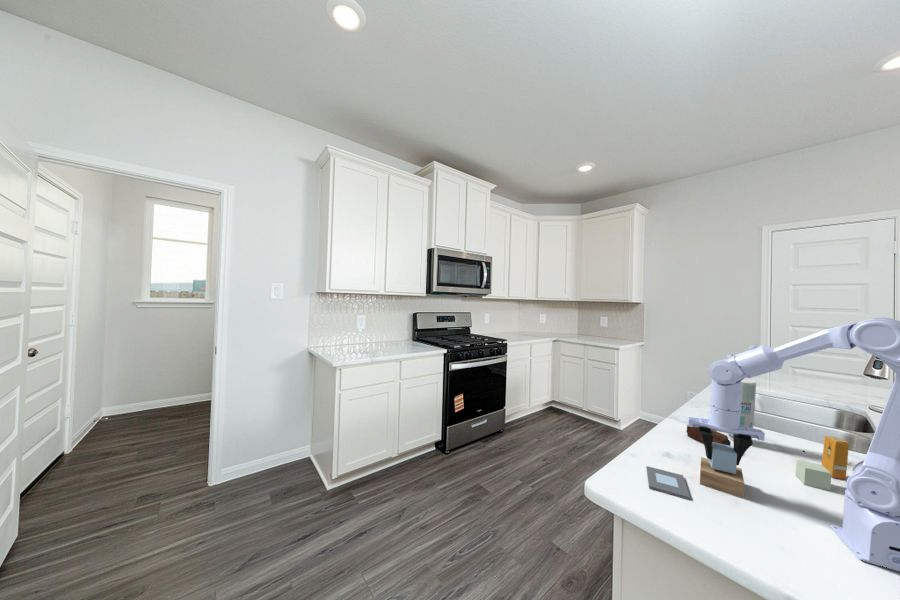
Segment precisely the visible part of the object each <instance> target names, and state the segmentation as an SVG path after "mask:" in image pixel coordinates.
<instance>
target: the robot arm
mask: <svg viewBox="0 0 900 600" xmlns="http://www.w3.org/2000/svg"><path fill="white" fill-rule="evenodd" d="M856 347H857V348H859V349H861V350H863V351H865V352H866V353H867V354H869V355H873V356H874V357H876V358H878V359H879V360H880V361H881V362H883V363H884V365H886V366H887V367H888V368H890V369H891V370H892V371H893V372H894V373H895V374H896V375H895V378H894V381H893V383H892V386H891V388H890V391H889V394H888V396H887V400H886V403H885V405H884V407H883V410H882V413H881V415H880V419H879V420H878V424H877V426H876V429H875V431H874V434H873V437H872V439H871V442H870V445H869V447H868V450H867V452H866V455H865V457H864V459H863V460H861V461H859V462H856V464H855V465H853V469H852V474H851V475H849V476H848V478H846V479H847V480H846V483H845V484H846V485H845V486H846V489H845V490H844V501H843V503H844V504H843V514H842V525H841V526H840V525H839V526H838V525H835V524H830V528H831V529H832V531H834V533H835V534H837V536H838V537H839V538H840V539H841V540H842V541H843V543H844V544H845V545H846V546H847V547H848V548H849V549H850V551H851V552H852V553H853V554H854V555H855V556H856V557H857V559H859V560H860V561H862V560H863V562H865V561H866V563H869V564H873V565H876V566H879V567H882V566H883V567H882V568H886V567H887V568H886V569H890V570H893V571H897V572H900V320H897V319H894V318H889V317H874V318H870V319H866V320H865V319H864V320H863V321H860V322H852V323H850V324H849V323H848V324H843V325H839V326H835V327H831V328H826V329H823V330H819V331H818V332H815V333H811V334H810V335H806V336H803V337H802V338H799V339H796V340H794V341H791V342H787V343H785V344H782V345H779V346H777V347H770V346H766V345H760V346H758V345H755V344H754V345H752V346H749V347H748V350H745V351H743V352H740V353H737V354H732V353H731V354H728V355H727V356H726V358H724V359H718V360H716V361H714V362H712V363H711V364H710V365H709V366H708V370H707V371H708V372H707V373H708V375H709V377H710V378H711V385H710V386H711V387H710V399H709V400H710V401H709V416H708V417H709V418H704V417H703V418H702V417H701V418H700V417H693V416H692V417H691V416H687V419H686V426H687V425H688V426H689V427H697V428H698V430H699V432H700V434H701V437H702V440H703V443H704V444H703V446H704V450H705V456H706V459H711V457H712V450H711V448H712V440H713V435H712V432H711V430H714V431H717V432H719V433H724V434H725V433H730V434H733V441H732V442H733V443H732V444H733V446H732V448H733V449H734V450H735V452H736V453H737V464H736V466H739V465H740V462H741V460H742V457H743V456H744V455H745V453H746V452H747V450H749V448H750V447H752V445H753V443H754V442H753V439H757V440H758V441H762V442H765V435H766V434H765V432H764V431H763V430H762V429H758V428H754V427H753V428H750V427H746V426H742V425H740V408H741V381H742V380H743V379H751V378H754V377H757V376H762V375H764V374H768V373H772V372H775V371H778V370H781V369H782V368H783V365H784V363H785V361H787V360H791V359H794V358H798V357H801V356H805V355H809V354H812V353H816V352H819V351H823V350H827V349H829V348H830V349H831V348H833V349H844V350H853V349H854V348H856ZM751 438H752V440H751Z"/></svg>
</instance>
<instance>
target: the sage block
mask: <svg viewBox="0 0 900 600" xmlns="http://www.w3.org/2000/svg"><path fill="white" fill-rule="evenodd" d="M795 477H796V478H797V479H798V480H799V481H800V483H802V484H803V486H807V487H813V488H816V489H821V490H825V491H829V492H830V491H831V483H832V477H831V473H830V472H829V471H828V470H827V469H826V468H825V467H823V466H822V463H821V464H820V463H814V462H810V461H805V460H800V459H796V465H795Z"/></svg>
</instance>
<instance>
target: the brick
mask: <svg viewBox="0 0 900 600" xmlns="http://www.w3.org/2000/svg"><path fill="white" fill-rule="evenodd" d="M711 432H712V435H713V440H712V442H714V443H719V444H724V445H729V446H732V445H731V443H732V442H731V440H729V439H728V437H727V436H726V434H725V433H723V432H719V431H714V430H711ZM686 435H687V437H688V438H689V437H690V438H689V439H691V440H693V441H696V442H698V443H699V444H702V445H704V443H703V440H702V437H701V434H700V432H699V430H698V428H697V427H689V426H688V425H687V424H686Z"/></svg>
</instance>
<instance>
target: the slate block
mask: <svg viewBox="0 0 900 600" xmlns="http://www.w3.org/2000/svg"><path fill="white" fill-rule="evenodd" d="M711 450H712V457H711V459H708V458H707V459H708V461H709V463H710V465H711V467H712V469H717V470H721V471H725V472H729V473H733V474H736V467H737V465H736V464H737V453H736V452H735V450H734V449H733V446H732V445H730V446H729V445H724V444H719V443H714V442H712V448H711Z"/></svg>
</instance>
